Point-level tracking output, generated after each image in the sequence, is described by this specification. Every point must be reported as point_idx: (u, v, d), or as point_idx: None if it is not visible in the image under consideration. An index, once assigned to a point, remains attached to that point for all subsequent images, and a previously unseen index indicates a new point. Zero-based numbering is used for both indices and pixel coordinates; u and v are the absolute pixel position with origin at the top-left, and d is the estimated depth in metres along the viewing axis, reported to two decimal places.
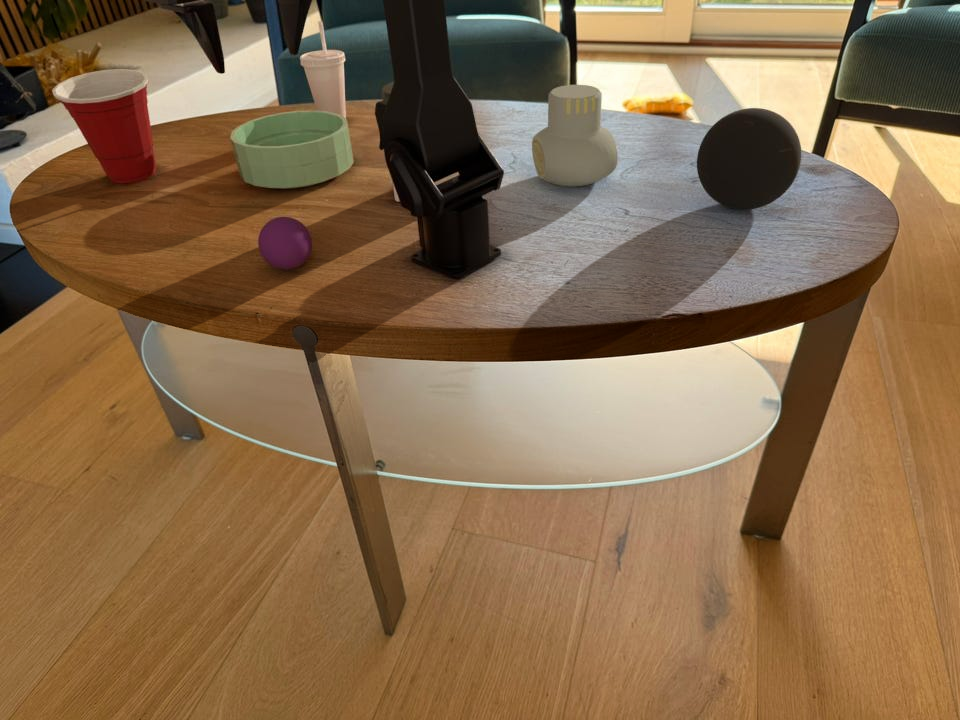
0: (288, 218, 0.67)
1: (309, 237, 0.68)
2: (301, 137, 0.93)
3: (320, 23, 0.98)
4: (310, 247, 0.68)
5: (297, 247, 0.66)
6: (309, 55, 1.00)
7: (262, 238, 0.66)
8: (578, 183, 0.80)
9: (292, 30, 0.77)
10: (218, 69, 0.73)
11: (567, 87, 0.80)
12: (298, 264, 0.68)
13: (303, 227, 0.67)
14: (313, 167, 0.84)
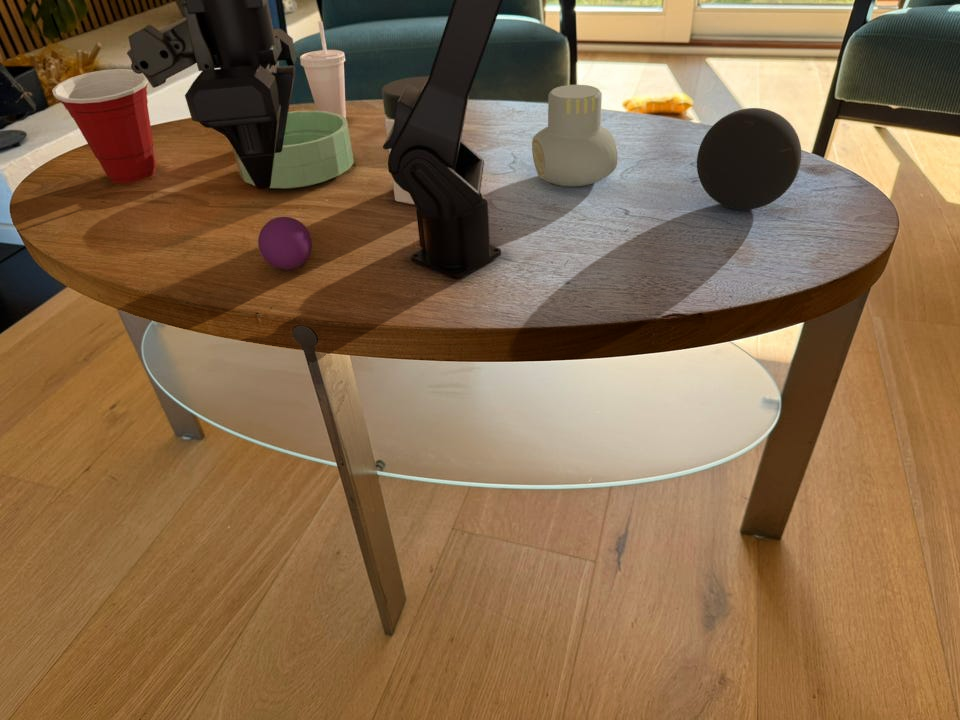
0: (288, 218, 0.67)
1: (309, 237, 0.68)
2: (301, 137, 0.93)
3: (320, 23, 0.98)
4: (310, 247, 0.68)
5: (297, 247, 0.66)
6: (309, 55, 1.00)
7: (262, 238, 0.66)
8: (578, 183, 0.80)
9: None
10: (265, 185, 0.60)
11: (567, 87, 0.80)
12: (298, 264, 0.68)
13: (303, 227, 0.67)
14: (313, 167, 0.84)
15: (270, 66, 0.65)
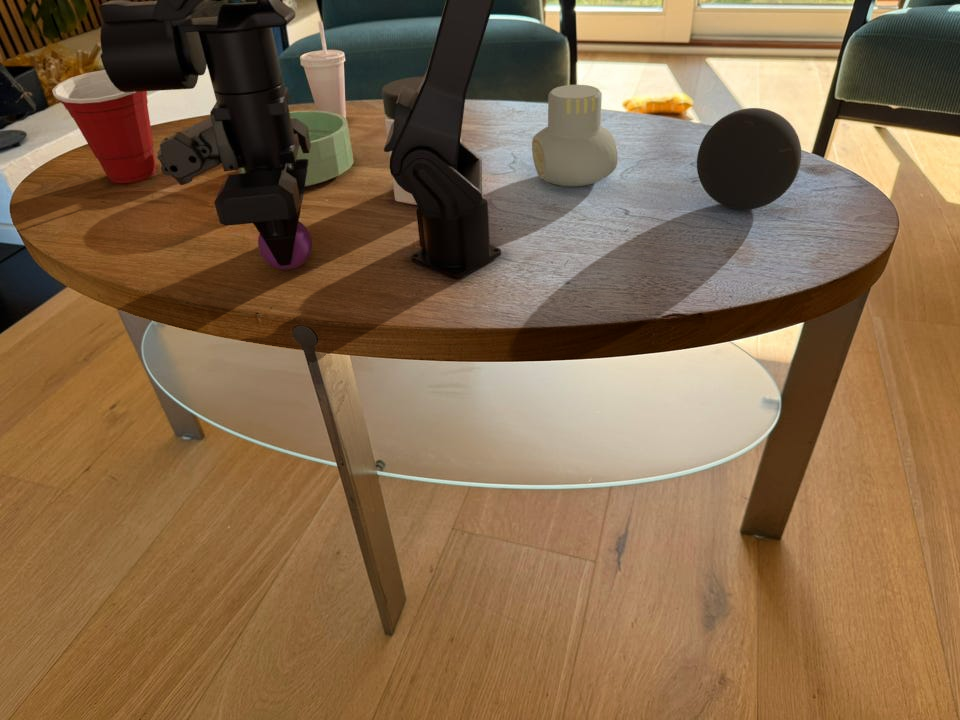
0: None
1: (309, 237, 0.68)
2: None
3: (320, 23, 0.98)
4: (310, 247, 0.68)
5: (297, 247, 0.66)
6: (309, 55, 1.00)
7: (262, 238, 0.66)
8: (578, 183, 0.80)
9: None
10: (287, 262, 0.66)
11: (567, 87, 0.80)
12: (298, 264, 0.68)
13: (303, 227, 0.67)
14: (313, 167, 0.84)
15: None
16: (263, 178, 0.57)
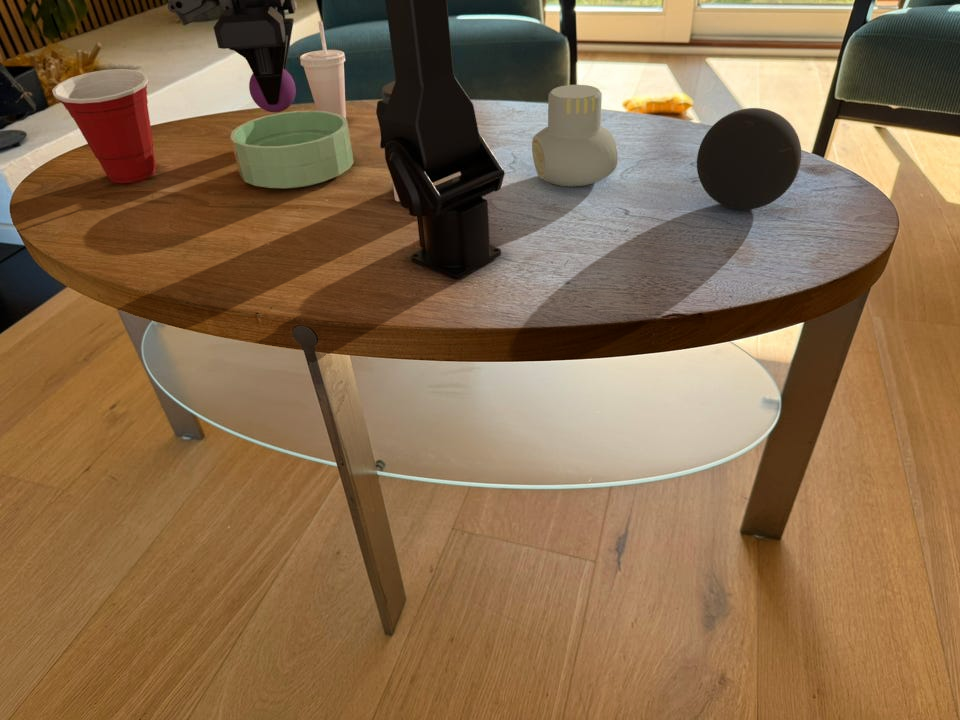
0: None
1: (293, 83, 0.79)
2: (301, 137, 0.93)
3: (320, 23, 0.98)
4: (294, 92, 0.79)
5: (283, 88, 0.77)
6: (309, 55, 1.00)
7: (253, 80, 0.77)
8: (578, 183, 0.80)
9: None
10: (274, 101, 0.77)
11: (567, 87, 0.80)
12: (283, 106, 0.79)
13: (288, 73, 0.78)
14: (313, 167, 0.84)
15: None
16: (254, 10, 0.68)
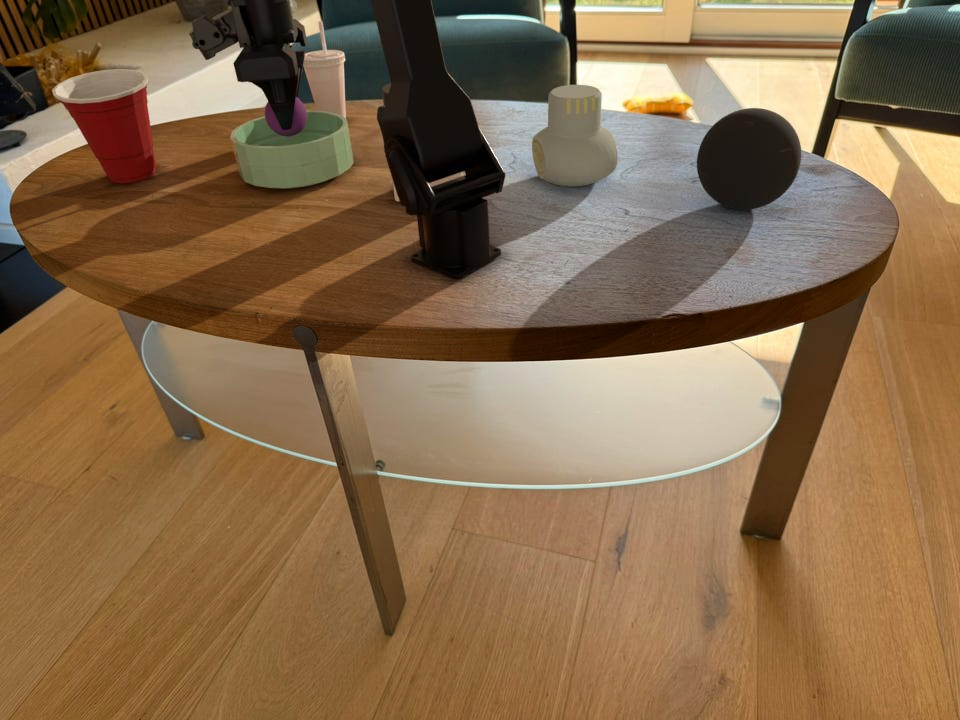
0: None
1: (305, 109, 0.86)
2: (301, 137, 0.93)
3: (320, 23, 0.98)
4: (305, 118, 0.86)
5: (295, 115, 0.85)
6: (309, 55, 1.00)
7: (268, 107, 0.85)
8: (578, 183, 0.80)
9: None
10: (288, 126, 0.84)
11: (567, 87, 0.80)
12: (296, 131, 0.86)
13: (300, 101, 0.86)
14: (313, 167, 0.84)
15: None
16: (270, 47, 0.76)
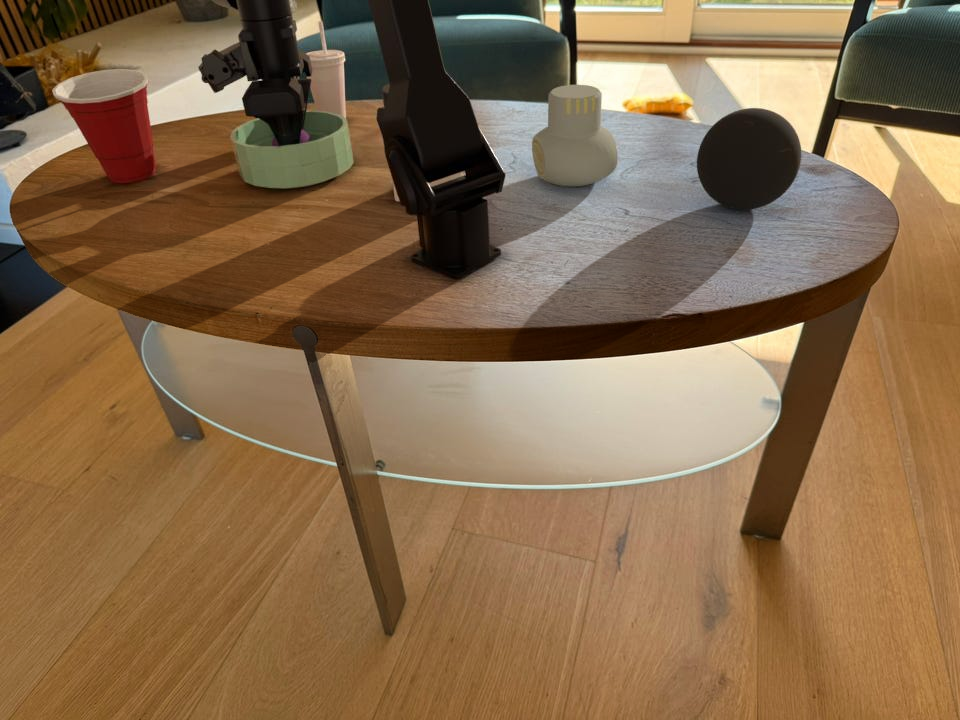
0: None
1: None
2: None
3: (320, 23, 0.98)
4: None
5: None
6: (309, 55, 1.00)
7: (275, 141, 0.87)
8: (578, 183, 0.80)
9: None
10: None
11: (567, 87, 0.80)
12: None
13: (306, 134, 0.88)
14: (313, 167, 0.84)
15: None
16: (277, 82, 0.78)
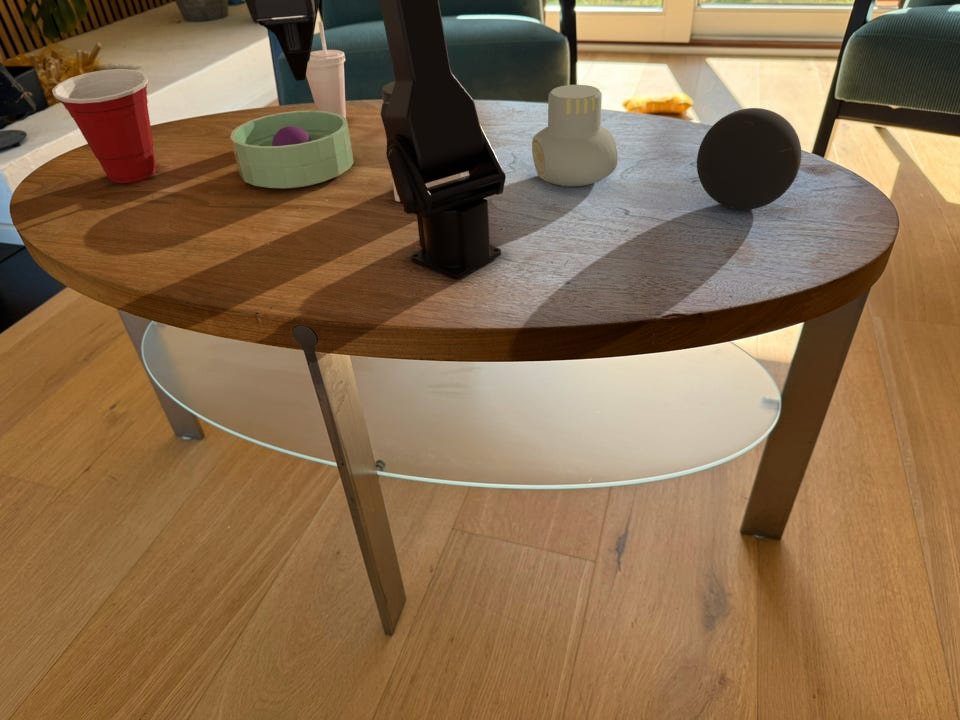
0: (295, 127, 0.88)
1: None
2: None
3: (320, 23, 0.98)
4: None
5: None
6: None
7: (275, 140, 0.87)
8: (578, 183, 0.80)
9: None
10: (301, 76, 0.80)
11: (567, 87, 0.80)
12: None
13: (306, 134, 0.88)
14: (313, 167, 0.84)
15: None
16: None
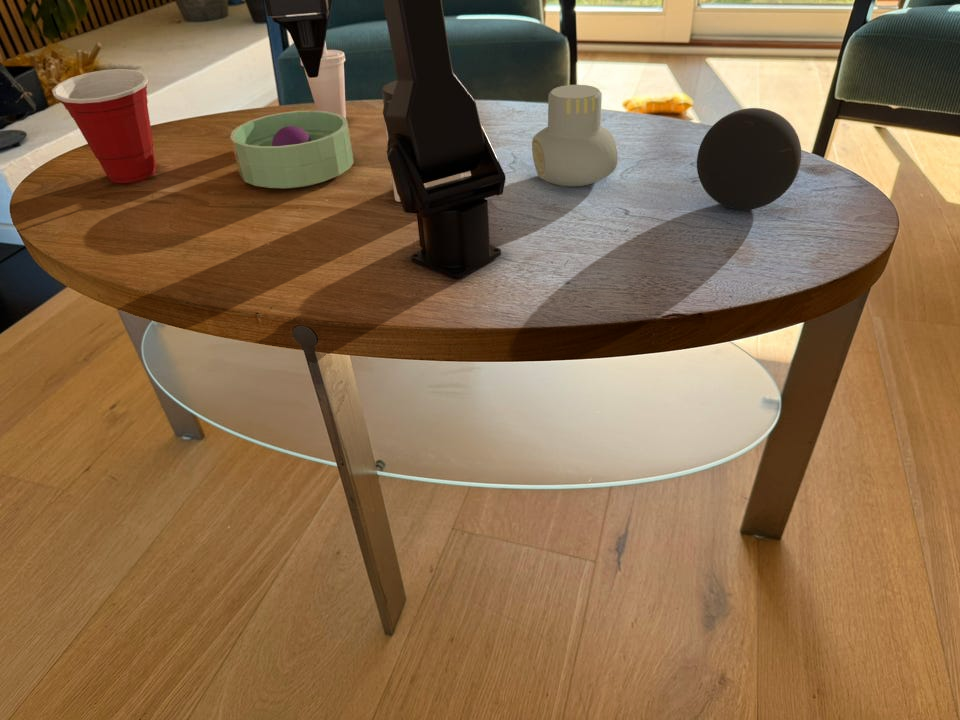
0: None
1: None
2: None
3: None
4: None
5: None
6: None
7: (275, 140, 0.87)
8: (578, 183, 0.80)
9: None
10: (314, 74, 0.81)
11: (567, 87, 0.80)
12: None
13: (306, 133, 0.88)
14: (313, 167, 0.84)
15: None
16: None
